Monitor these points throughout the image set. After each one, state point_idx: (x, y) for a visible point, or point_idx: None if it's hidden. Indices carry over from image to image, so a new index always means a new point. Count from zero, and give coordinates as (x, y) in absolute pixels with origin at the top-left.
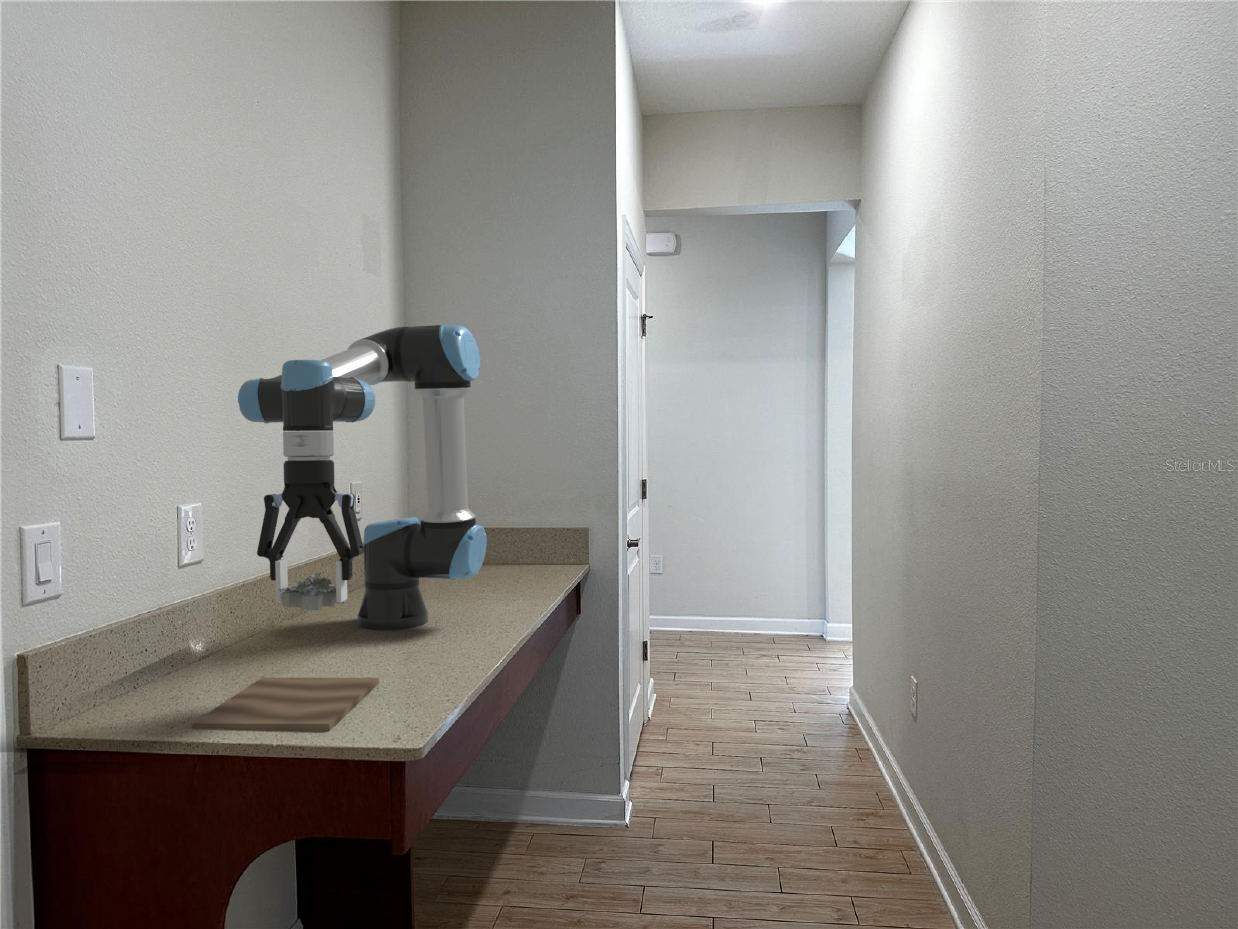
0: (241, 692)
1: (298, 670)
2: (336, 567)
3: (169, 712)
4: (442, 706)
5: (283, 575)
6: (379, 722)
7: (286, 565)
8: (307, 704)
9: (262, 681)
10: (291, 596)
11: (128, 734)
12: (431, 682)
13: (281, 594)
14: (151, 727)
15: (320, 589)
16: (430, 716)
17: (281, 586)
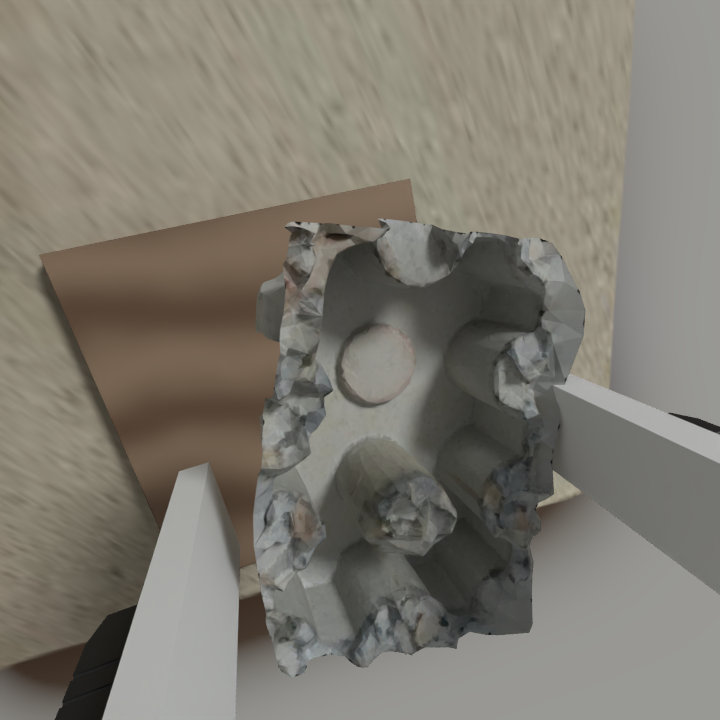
0: (109, 396)
1: (33, 62)
2: (704, 576)
3: (5, 515)
4: (594, 299)
5: (214, 647)
6: None
7: (181, 678)
8: None
9: (80, 292)
10: (356, 606)
11: (59, 631)
12: (524, 129)
13: (235, 570)
14: (68, 590)
15: (529, 575)
16: (588, 357)
17: (233, 610)
